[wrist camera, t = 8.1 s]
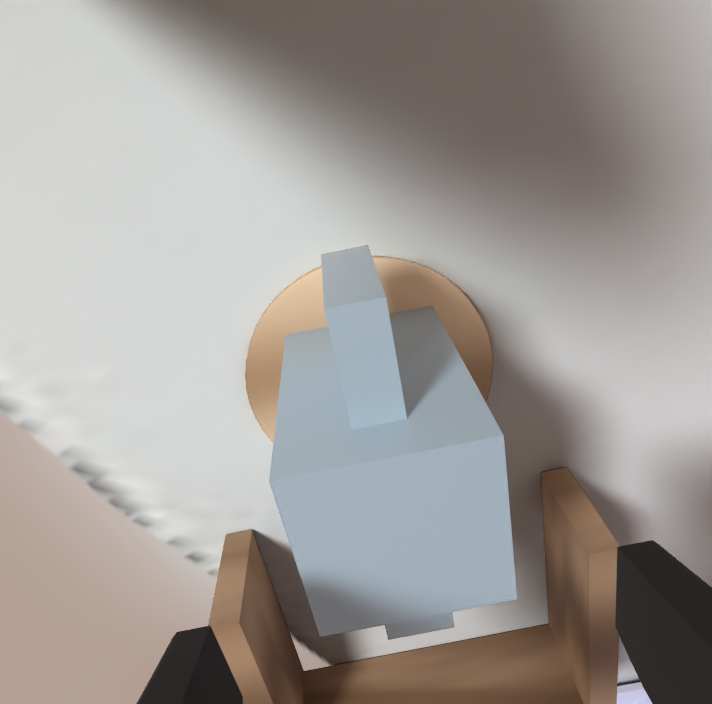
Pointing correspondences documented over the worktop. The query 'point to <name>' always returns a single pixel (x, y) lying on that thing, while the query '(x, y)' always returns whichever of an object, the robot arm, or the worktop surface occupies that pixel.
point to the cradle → (453, 660)
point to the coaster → (403, 292)
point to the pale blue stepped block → (388, 465)
